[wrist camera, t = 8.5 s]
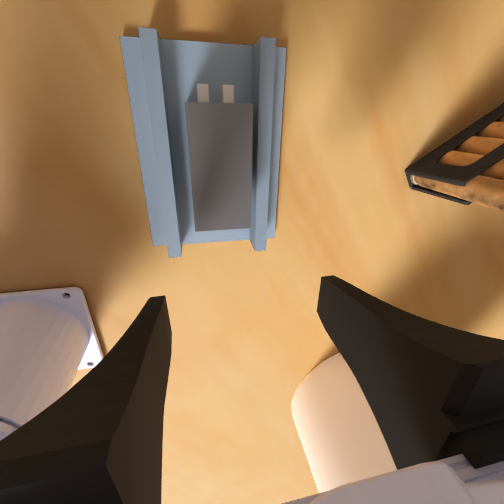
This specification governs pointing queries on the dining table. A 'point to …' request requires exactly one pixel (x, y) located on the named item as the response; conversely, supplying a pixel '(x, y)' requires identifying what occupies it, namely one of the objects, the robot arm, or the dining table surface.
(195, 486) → the dining table surface
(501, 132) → the ammunition clip
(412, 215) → the dining table surface
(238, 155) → the charcoal plug
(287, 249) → the dining table surface
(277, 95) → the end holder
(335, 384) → the canister
